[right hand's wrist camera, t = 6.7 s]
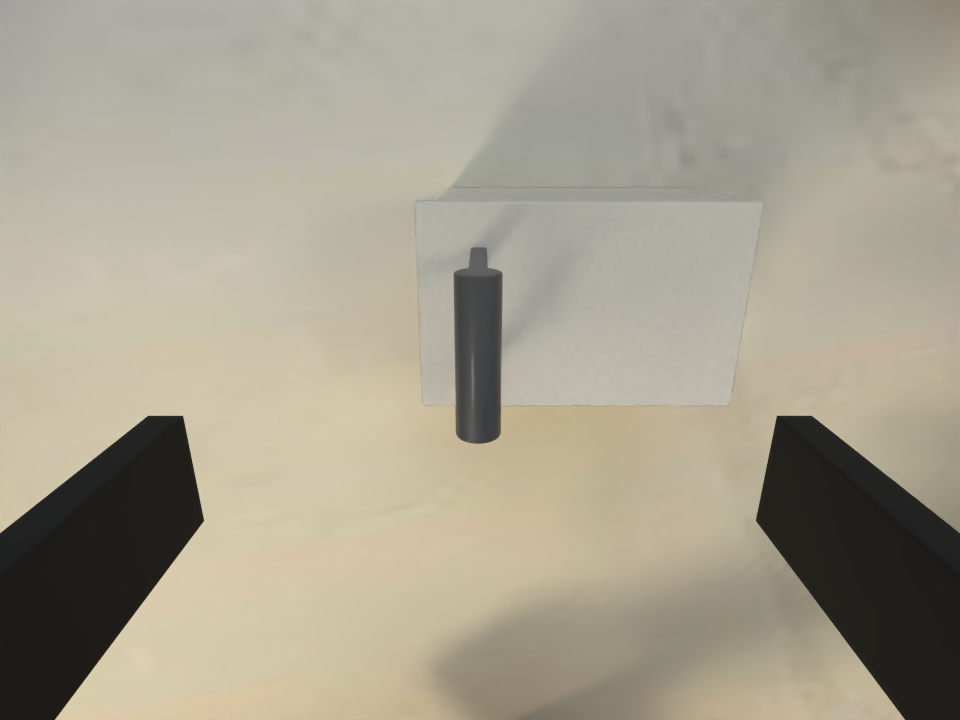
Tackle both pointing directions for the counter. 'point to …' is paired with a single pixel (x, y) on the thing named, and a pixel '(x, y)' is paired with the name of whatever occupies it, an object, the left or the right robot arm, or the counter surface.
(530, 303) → the lid
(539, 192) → the white cabinet body
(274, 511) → the counter surface
